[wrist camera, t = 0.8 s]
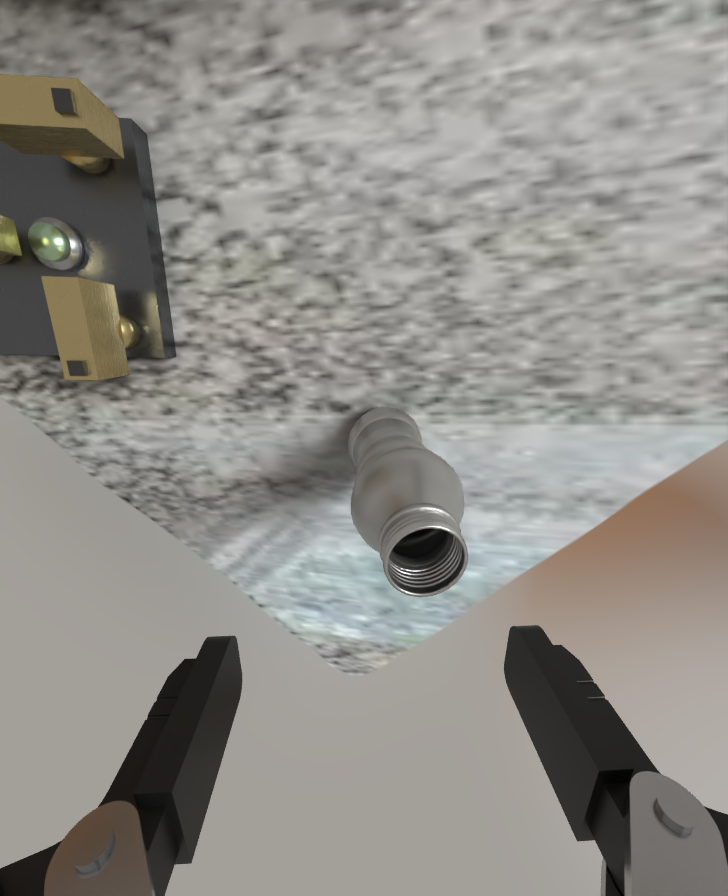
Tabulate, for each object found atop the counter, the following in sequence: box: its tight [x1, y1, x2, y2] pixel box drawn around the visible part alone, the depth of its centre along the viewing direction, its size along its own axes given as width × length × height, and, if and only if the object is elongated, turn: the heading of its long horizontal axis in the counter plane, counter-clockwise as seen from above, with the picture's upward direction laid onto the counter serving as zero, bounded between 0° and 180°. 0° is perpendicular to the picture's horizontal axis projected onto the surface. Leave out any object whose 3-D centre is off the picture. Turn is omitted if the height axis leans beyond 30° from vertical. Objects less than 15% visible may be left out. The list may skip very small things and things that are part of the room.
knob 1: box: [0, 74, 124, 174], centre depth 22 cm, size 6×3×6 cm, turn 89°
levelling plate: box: [0, 118, 176, 358], centre depth 27 cm, size 16×13×3 cm
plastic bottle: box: [348, 407, 468, 597], centre depth 24 cm, size 6×7×20 cm
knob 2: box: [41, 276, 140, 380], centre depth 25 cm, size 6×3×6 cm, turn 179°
